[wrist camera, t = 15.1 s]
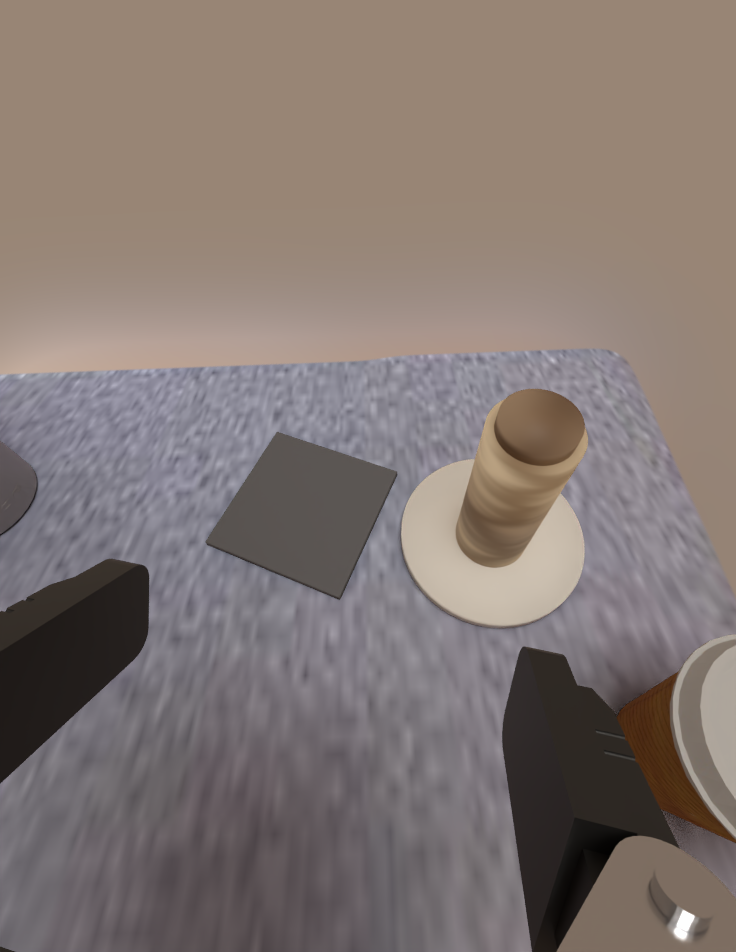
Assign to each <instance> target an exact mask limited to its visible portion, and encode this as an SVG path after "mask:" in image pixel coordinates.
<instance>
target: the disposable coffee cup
mask: <svg viewBox="0 0 736 952" xmlns="http://www.w3.org/2000/svg"><path fill="white" fill-rule="evenodd" d="M617 720H618V722H619V724H620V726H621V728H622V730H623V732H624V734H625V740H626V741H628V743H629V745H630V747H631V749H632V751H633V753H634V755H635V762H637V763H639V765H640V768H641V770H642V772H643V774H644V776H645V778H646V780H647V782H648V784H649V786H650V788H651V790H652V792H653V794H654V797H655V799H656V801H657V803H658V805H659V807H660V809H662V810H664V811H667V812H669V813H671V814H673V815H675V816H677V817H680V818H682V819H684V820H687V821H689V822H691V823H693V824H695V825H697V826H699V827H702V828H704V829H706V830H708V831H711V832H713V833H715V834H717V835H719V836H722V837H724V838H726V839H728V840H730V841H732V842H734V843H736V635H727V636H724V637H721V638H717V639H714V640H711V641H709V642H707V643H705V644H703V645H702V646H701V647H699V648H698V649H697V650H696V651H694V652H693V653H692V654H691V655H690V656H689V657H688V658H687V660H686V661H685V663H684V664H683V665H682V667H681V668H680V670H679V671H678V672H677V673H675V674H674V675H672V676H670V677H669V678H668V679H666V680H664V681H663V682H661V683H660V684H658V685H656V686H655V687H653V688H652V689H650V690H649V691H647V692H646V693H644V694H643V695H641V696H640V697H638V698H636V699H635V700H633V701H631V702H630V703H628V704H626V705H625V706H624V707H623V708H622V710H621V711H620V712H619V714H618V716H617Z"/></svg>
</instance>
